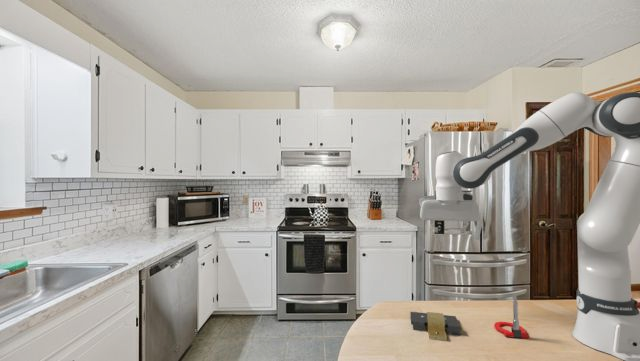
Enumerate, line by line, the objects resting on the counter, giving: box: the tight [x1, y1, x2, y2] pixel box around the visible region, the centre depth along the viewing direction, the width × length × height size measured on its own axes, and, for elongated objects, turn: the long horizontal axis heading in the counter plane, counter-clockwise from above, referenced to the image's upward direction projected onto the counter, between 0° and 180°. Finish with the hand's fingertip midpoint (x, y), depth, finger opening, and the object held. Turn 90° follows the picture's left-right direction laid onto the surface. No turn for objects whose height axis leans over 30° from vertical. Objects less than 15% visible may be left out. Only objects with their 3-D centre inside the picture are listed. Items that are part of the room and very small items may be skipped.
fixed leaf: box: [410, 311, 461, 336], centre depth 97 cm, size 15×10×3 cm
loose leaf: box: [426, 311, 448, 342], centre depth 91 cm, size 5×8×5 cm, turn 164°
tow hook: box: [493, 294, 530, 339], centre depth 93 cm, size 8×13×9 cm
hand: (449, 232), depth 107 cm, fingers open, 8 cm apart
